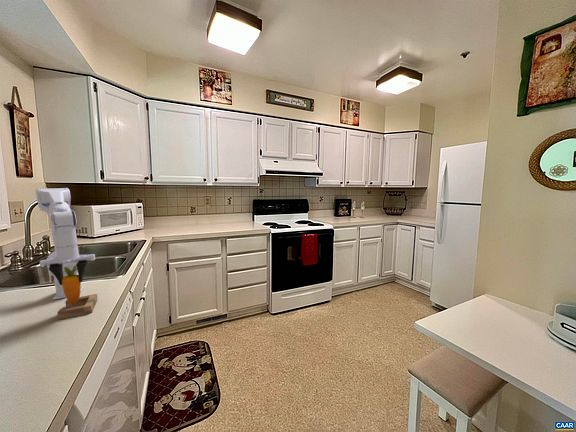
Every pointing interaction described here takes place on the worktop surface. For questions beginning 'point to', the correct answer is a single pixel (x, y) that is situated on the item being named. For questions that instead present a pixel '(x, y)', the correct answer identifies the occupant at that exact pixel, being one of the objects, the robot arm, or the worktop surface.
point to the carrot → (71, 286)
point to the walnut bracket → (78, 307)
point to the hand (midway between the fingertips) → (71, 282)
